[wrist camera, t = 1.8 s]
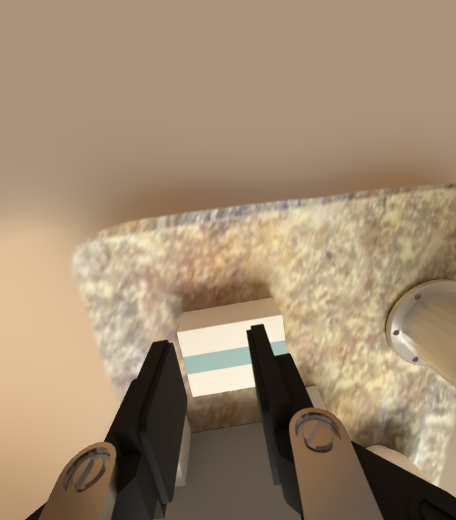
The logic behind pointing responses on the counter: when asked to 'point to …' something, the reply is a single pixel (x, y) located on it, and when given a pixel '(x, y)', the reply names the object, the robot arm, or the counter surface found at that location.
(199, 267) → the counter surface
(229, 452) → the display stand
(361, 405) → the counter surface
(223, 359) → the carton
